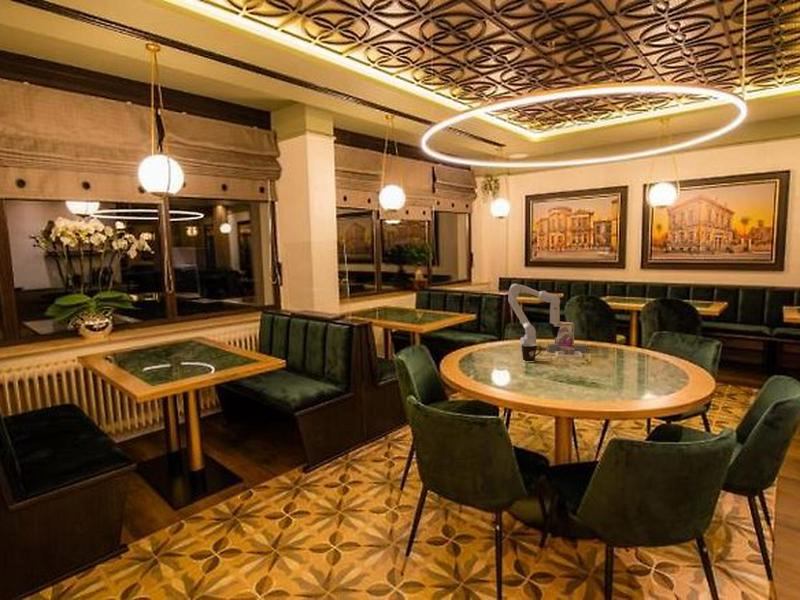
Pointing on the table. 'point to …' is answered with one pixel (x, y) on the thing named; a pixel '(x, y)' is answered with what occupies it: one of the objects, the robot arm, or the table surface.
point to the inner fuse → (553, 348)
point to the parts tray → (569, 355)
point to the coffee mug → (529, 351)
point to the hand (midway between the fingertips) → (554, 335)
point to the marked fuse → (568, 351)
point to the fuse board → (572, 347)
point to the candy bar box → (565, 334)
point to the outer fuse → (580, 348)
